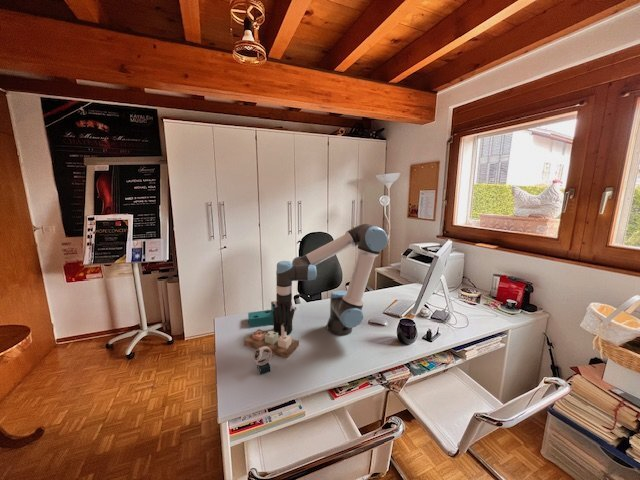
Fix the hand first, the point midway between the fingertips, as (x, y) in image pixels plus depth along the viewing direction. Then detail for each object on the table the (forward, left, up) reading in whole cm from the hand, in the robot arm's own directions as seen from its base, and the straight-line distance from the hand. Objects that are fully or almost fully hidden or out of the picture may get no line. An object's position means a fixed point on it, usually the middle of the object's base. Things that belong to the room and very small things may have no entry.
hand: (283, 336), depth 133 cm
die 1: (+16, 0, -7) cm, 17 cm away
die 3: (0, 0, -5) cm, 5 cm away
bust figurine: (0, +17, -8) cm, 19 cm away
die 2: (+8, 0, -5) cm, 9 cm away
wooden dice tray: (+8, 0, -8) cm, 11 cm away
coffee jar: (+10, -14, -8) cm, 19 cm away
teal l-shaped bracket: (+27, -19, -8) cm, 34 cm away
